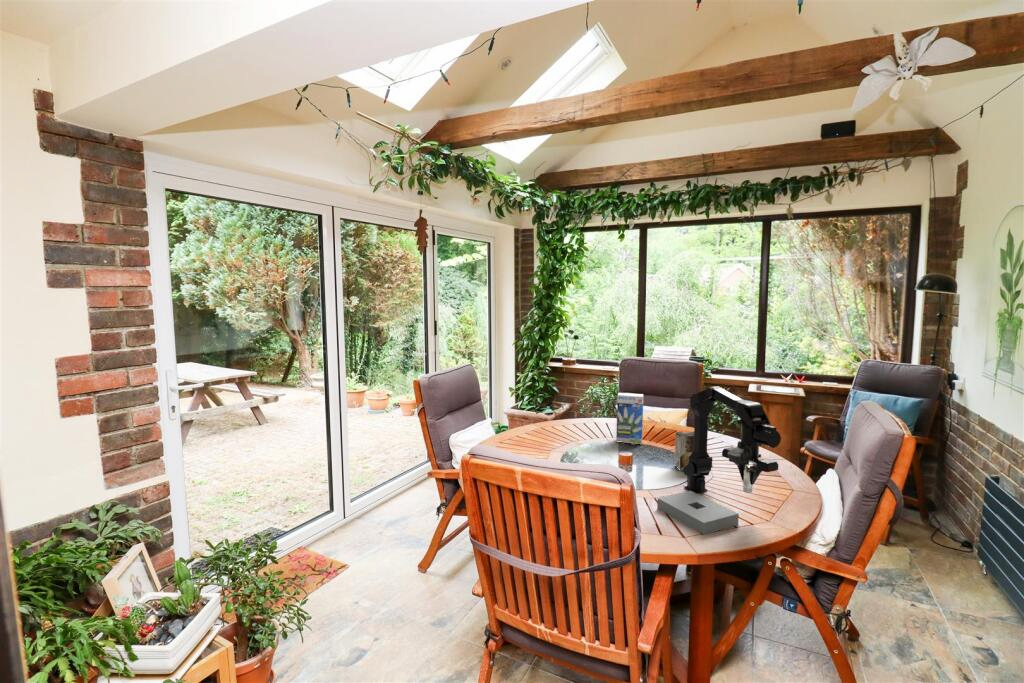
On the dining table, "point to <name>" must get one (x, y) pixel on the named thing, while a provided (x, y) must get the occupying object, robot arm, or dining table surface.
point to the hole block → (698, 512)
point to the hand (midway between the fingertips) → (748, 482)
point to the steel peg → (747, 480)
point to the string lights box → (629, 417)
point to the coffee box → (683, 448)
